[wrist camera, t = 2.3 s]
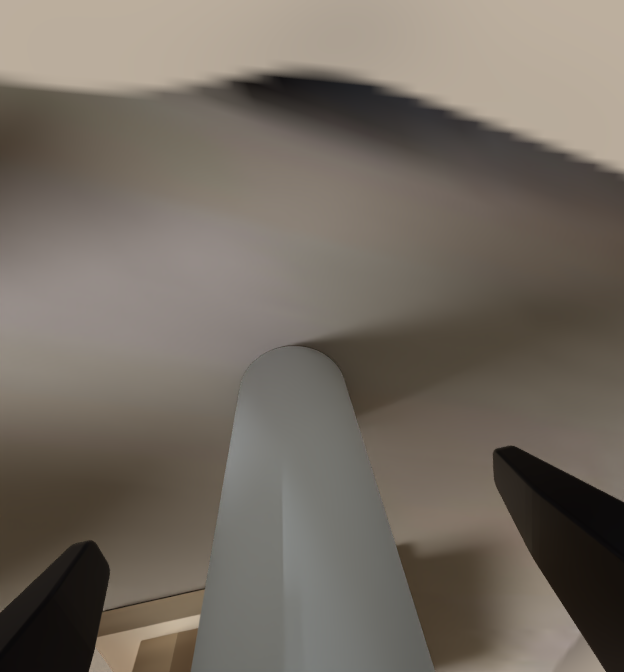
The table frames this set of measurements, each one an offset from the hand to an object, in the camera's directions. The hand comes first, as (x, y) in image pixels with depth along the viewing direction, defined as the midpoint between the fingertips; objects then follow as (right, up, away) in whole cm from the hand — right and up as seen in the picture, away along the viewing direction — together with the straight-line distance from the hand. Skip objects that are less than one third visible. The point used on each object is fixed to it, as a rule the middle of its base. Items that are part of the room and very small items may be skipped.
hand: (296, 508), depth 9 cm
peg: (0, +2, +4) cm, 5 cm away
